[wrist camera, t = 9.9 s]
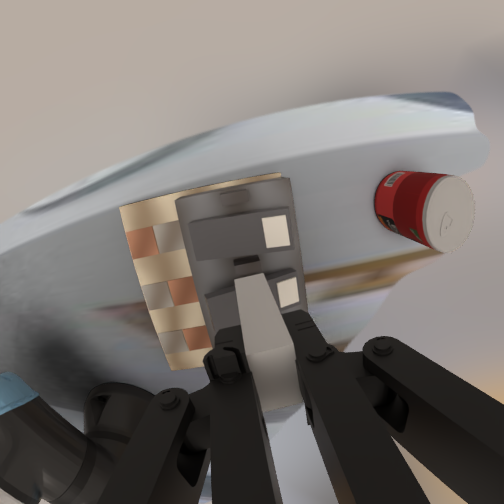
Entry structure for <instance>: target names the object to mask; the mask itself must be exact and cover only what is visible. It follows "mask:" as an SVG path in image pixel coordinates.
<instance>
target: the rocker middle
mask: <svg viewBox="0 0 504 504" xmlns="http://www.w3.org/2000/svg"><path fill="white" fill-rule="evenodd" d="M265 278H266V280H267V283H268V285H269V287H270V290H271V292H272V295H273V297H274V299H275V302H276V304H277V306H278V309H279V311H280V312H281V311H284V310H286V309H289V308H292V307H295V306H297V305H300V304H301V297H300V289H299V281H298V274H297V271H296V270H294V269H293V268H289V269H286V270H283V271H280V272H277V273H273V274H270V275H267V276H265ZM204 297H205V301H206V304H207V308H208V312H209V315H210V319H211V323H212V326H213V329H214V331H215V333H217V332H218V331H219V329H223V328H227V327H232V326H237V325H241V321H240V315H239V308H238V302H237V295H236V288H235V285H234V286H231V287H228V288H224V289H221V290H218V291H214V292H211V293H208V294H204Z"/></svg>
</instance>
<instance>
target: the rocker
mask: <svg viewBox="0 0 504 504" xmlns="http://www.w3.org/2000/svg"><path fill="white" fill-rule="evenodd" d="M188 227H189V232H190V236H191V240H192V244H193V249H194V253H195V257H196V261H204V260H212V259H221V258H229V257H238V256H246V255H255V254H263V253H271V252H280V251H288V250H294V249H295V243H294V236H293V229H292V222H291V216H290V209H289V206H285V207H278V208H271V209H264V210H257V211H250V212H244V213H237V214H231V215H224V216H218V217H212V218H206V219H200V220H194V221H191V222H190V223H188Z"/></svg>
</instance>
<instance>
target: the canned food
mask: <svg viewBox="0 0 504 504" xmlns="http://www.w3.org/2000/svg"><path fill="white" fill-rule="evenodd" d="M375 211H376V214H377V217H378V219H379V220H380V222H381V223H382V224H383V225H384V227H386V228H387V229H388V230H390V231H393V232H395V233H397V234H400V235H402V236H404V237H407V238H409V239H411V240H414V241H416V242H418V243H421V244H423V245H425V246H427V247H429V248H432V249H434V250H437V251H439V252H444V253H449V252H453V251H455V250H456V249H458V248H459V247H461V245H462V244H463V243H464V242H465V241H466V239H467V238H468V236H469V234H470V232H471V229H472V226H473V222H474V217H475V202H474V197H473V194H472V191H471V189H470V187H469V185H468V184H467V183H466V181H464V180H463V179H462V178H460V177H457V176H454V175H447V174H437V173H425V172H410V171H397V172H394V173H392V174H390V175H388V176H387V177H385V178H384V179H383V180H382V182H381V183H380V185H379V186H378V188H377V191H376V195H375Z"/></svg>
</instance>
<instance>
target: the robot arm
mask: <svg viewBox="0 0 504 504" xmlns="http://www.w3.org/2000/svg"><path fill="white" fill-rule="evenodd" d="M234 281H235V288H236V295H237V302H238V308H239V315H240V321H241V325H237V326H232V327H227V328H223V329H219V331H218V332H217V334H216V335H215V348H214V349H212V350H210V351H209V352H208V353H207V354H206V355H205V356H204V358H203V364H204V366H205V369H206V371H207V374H208V377H209V379H210V383H209V384H208V385H207V386H206V387H204V388H203V389H201V390H199V391H196V392H194V393H191V394H188V393H187V392H186V391H185V390H183V389H180V388H169V389H166V390H163V391H161V392H160V393H158V394H157V395H155V396H154V395H152V394H151V393H149V392H147V391H145V390H142V389H140V388H137V387H135V386H131V385H127V384H121V383H106V384H102V385H99V386H97V387H95V388H94V389H93V390H92V391H91V392H90V393H89V395H88V397H87V400H86V402H85V405H84V434H83V433H82V432H80V431H79V430H78V429H77V428H75V427H74V426H73V425H72V424H70V423H69V422H68V421H67V420H65V419H64V418H63V417H62V416H61V415H59V414H58V413H57V412H56V411H55V410H54V409H53V408H51V407H50V406H49V405H48V404H47V403H46V402H45V401H44V400H43V399H42V398H41V397H40V396H39V395H40V394H39V393H38V392H36V391H34V390H33V389H32V388H30V387H29V386H28V385H27V384H26V383H25V382H24V381H23V380H22V379H21V378H20V377H19V376H18V375H16V374H14V373H12V372H3V373H1V374H0V504H39V502H40V500H41V499H44V500H46V501H47V502H49V503H50V504H198V502H199V499H200V495H201V492H202V488H203V485H204V481H205V478H206V474H207V471H208V467H209V464H210V460H211V487H212V504H283V502H282V497H281V493H280V488H279V484H278V480H277V475H276V471H275V466H274V461H273V457H272V452H271V447H270V443H269V438H268V433H267V428H266V424H265V420H264V417H263V413H262V412H266V411H271V410H275V409H279V408H283V407H287V406H291V405H295V404H299V403H302V402H303V400H304V403H305V409H306V416H307V423H308V425H311V428H312V430H313V433H314V436H315V439H316V442H317V444H318V447H319V450H320V453H321V455H322V458H323V461H324V464H325V467H326V470H327V472H328V475H329V478H330V481H331V483H332V486H333V489H334V492H335V495H336V497H337V500H338V503H339V504H430V502H429V500H428V498H427V497H426V495H425V493H424V491H423V490H422V488H421V486H420V484H419V483H418V481H417V479H416V478H415V476H414V474H413V473H412V471H411V469H410V467H409V466H408V464H407V462H406V461H405V459H404V457H403V456H402V454H401V452H400V451H399V449H398V447H397V446H396V444H395V442H394V441H393V439H392V437H393V438H394V439H395V440H396V441H397V442H398V443H399V444H400V445H402V446H403V447H404V448H405V449H406V450H407V451H408V452H409V453H410V454H411V455H413V456H414V457H415V458H416V459H417V460H418V461H419V462H420V463H422V464H423V465H424V466H425V467H426V468H427V469H428V470H429V471H431V472H432V473H433V474H434V475H435V476H436V477H437V478H439V479H440V480H441V481H442V482H443V483H444V484H446V485H447V486H448V487H449V488H450V489H451V490H453V491H454V492H455V493H456V494H457V495H458V496H460V497H461V498H462V499H463V500H464V501H466V502H467V503H468V504H504V405H503V404H502V403H500V402H499V401H497V400H495V399H494V398H492V397H490V396H489V395H487V394H486V393H484V392H482V391H481V390H479V389H477V388H476V387H474V386H472V385H471V384H469V383H468V382H466V381H464V380H463V379H461V378H459V377H458V376H456V375H455V374H453V373H451V372H449V371H448V370H446V369H445V368H443V367H442V366H440V365H438V364H437V363H435V362H433V361H432V360H430V359H428V358H427V357H425V356H424V355H422V354H420V353H419V352H417V351H415V350H414V349H412V348H410V347H409V346H407V345H406V344H404V343H402V342H401V341H399V340H397V339H395V338H393V337H388V336H381V337H375V338H373V339H370V340H369V341H368V342H366V343H365V345H364V346H363V351H360V352H348V353H345V352H339V351H338V350H337V349H336V348H335V347H334V346H333V345H330V344H327V342H326V341H325V339H324V338H323V336H322V334H321V333H320V331H319V329H318V328H317V326H316V324H315V323H314V321H313V319H312V318H311V316H310V315H309V313H307V312H305V311H303V310H301V309H299V310H295V311H292V312H288V313H284V314H281V313H280V311H279V309H278V306H277V304H276V302H275V299H274V297H273V295H272V292H271V290H270V287H269V285H268V283H267V280H266V278H265V276H264V273H261V274H257V275H252V276H248V277H244V278H239V279H235V280H234ZM302 397H303V399H302ZM390 435H391V436H392V437H391V436H390Z"/></svg>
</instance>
